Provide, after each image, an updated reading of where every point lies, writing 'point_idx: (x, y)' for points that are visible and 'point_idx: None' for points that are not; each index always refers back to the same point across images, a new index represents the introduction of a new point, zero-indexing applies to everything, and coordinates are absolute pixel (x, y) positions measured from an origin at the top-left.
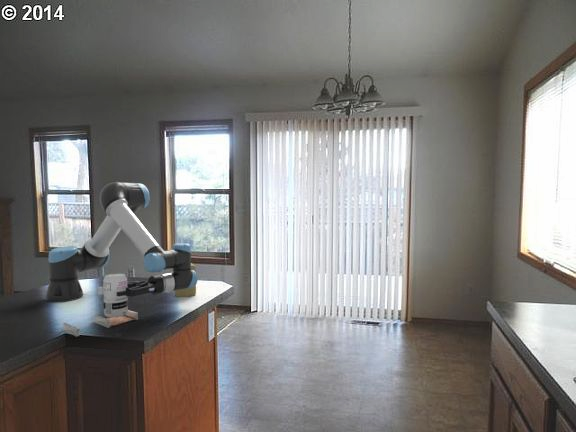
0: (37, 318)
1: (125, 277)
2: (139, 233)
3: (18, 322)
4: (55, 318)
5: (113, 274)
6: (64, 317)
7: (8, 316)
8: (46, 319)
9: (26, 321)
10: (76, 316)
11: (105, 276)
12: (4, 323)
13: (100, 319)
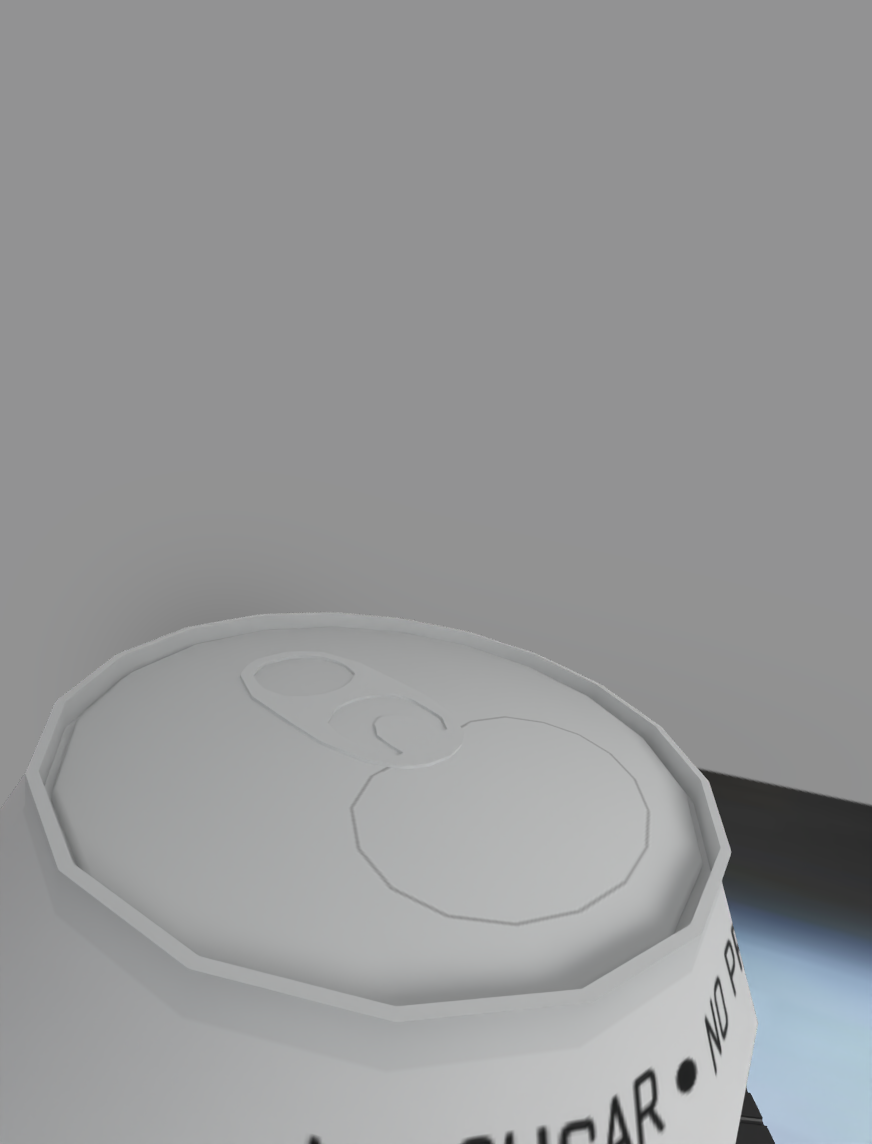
0: (788, 874)
1: (2, 980)
2: None
3: (721, 803)
4: (758, 942)
5: (694, 800)
6: (773, 997)
7: (865, 812)
8: (745, 897)
9: (730, 826)
10: (787, 1093)
11: (439, 627)
12: (722, 773)
13: None
